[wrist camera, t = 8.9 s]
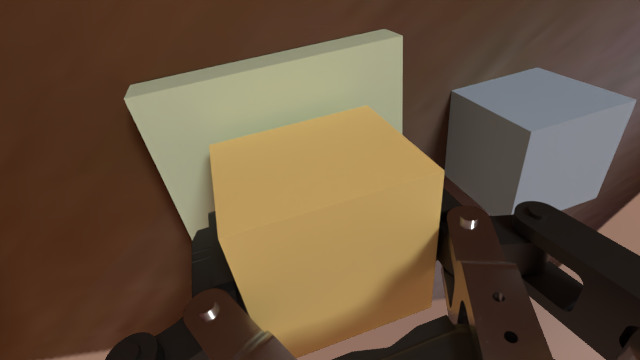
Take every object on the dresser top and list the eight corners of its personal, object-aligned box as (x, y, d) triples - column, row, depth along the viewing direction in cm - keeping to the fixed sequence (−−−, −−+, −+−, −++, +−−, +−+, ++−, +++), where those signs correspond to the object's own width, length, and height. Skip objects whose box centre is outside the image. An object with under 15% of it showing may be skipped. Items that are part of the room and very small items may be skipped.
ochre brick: (367, 105, 13) (444, 170, 9) (373, 222, 17) (430, 307, 13) (209, 145, 12) (218, 239, 8) (249, 261, 16) (270, 367, 12)
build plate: (384, 28, 14) (402, 35, 13) (388, 213, 20) (401, 229, 19) (129, 85, 12) (123, 99, 11) (215, 269, 18) (217, 291, 17)
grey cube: (536, 67, 18) (636, 99, 14) (517, 150, 21) (596, 197, 17) (450, 90, 17) (531, 131, 13) (443, 174, 20) (507, 229, 16)
